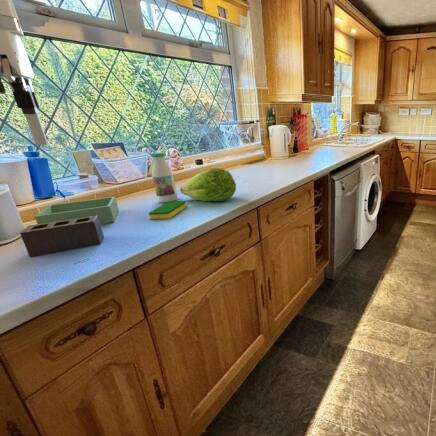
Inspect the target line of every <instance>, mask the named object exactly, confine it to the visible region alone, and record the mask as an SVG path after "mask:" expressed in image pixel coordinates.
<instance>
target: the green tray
mask: <svg viewBox="0 0 436 436" xmlns="http://www.w3.org/2000/svg"><path fill="white" fill-rule="evenodd" d="M119 212H120V209H119V206H118V201H117V198H116V196H107V197H99V198H93V199H84V200H77V201H70V202H69V201H68V202H62V203H53V204H48V205H47V206H46V207H45V208H43V209H42V210H41V211H40V212H39V213H37V214H36V215H35V216H34V219H35V221H36V224H42V223H49V222H56V221H62V220H69V219H76V218H82V217H89V216H96V215H97V216H98V219H99V222H100V225H104V224H110V223H111V224H112V223H115V221H116V220H117V218H118V217H117V216H118V214H119Z"/></svg>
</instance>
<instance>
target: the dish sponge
mask: <svg viewBox="0 0 436 436" xmlns="http://www.w3.org/2000/svg"><path fill="white" fill-rule="evenodd" d="M185 208H187V201H186V200H184V201H183V200H179V201H177V200H174V201H170V202H164V203H163V204H162V205H160V206H158V207H156V208H155V209H152V210H151V211H150V212H148V216H149V219H150V220H167V219H171V218H173V217H174V216H175V215H177V214H178V213H180V212H181V211H183V210H185Z"/></svg>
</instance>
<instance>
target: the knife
mask: <svg viewBox="0 0 436 436" xmlns="http://www.w3.org/2000/svg"><path fill="white" fill-rule="evenodd" d="M26 88H27V91H30V94H31V97H32V100H33V103H34V106H35V107H34V108H20V109H21V112H22V114H23V115H24V117H25V119H26V123H27V125H28V127H29V131H30V133H31V136H32V139H33V142H34V144H35V146H48V145H49V142H48V139H47V136H46V133H45V130H44V127H43V124H42V121H41V119H40V116H39V115H40V113H39V108H37V106H36V103H35V100H34V97H33V94H32V91H31V89H30V86H29V85H26Z"/></svg>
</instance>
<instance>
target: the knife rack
mask: <svg viewBox="0 0 436 436" xmlns="http://www.w3.org/2000/svg"><path fill="white" fill-rule="evenodd" d="M19 235H20V237H21V239H22V242H23V245H24V246H25V249H26V252H27V254H28V257H29V258H34V257H38V256H44V255H49V254H55V253H61V252H65V251H71V250H76V249H82V248H87V247H92V246H98V245H101V244H102V242H103V240H104V239H105V235H104V232H103V229H102V224H100V222H99V219H98V216H97V215H96V216H89V217H82V218H76V219H69V220H62V221H56V222H49V223H42V224H37V223H36V224H30V225H27V226H26V227H25V228H23V230H22V231H20V232H19Z"/></svg>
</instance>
